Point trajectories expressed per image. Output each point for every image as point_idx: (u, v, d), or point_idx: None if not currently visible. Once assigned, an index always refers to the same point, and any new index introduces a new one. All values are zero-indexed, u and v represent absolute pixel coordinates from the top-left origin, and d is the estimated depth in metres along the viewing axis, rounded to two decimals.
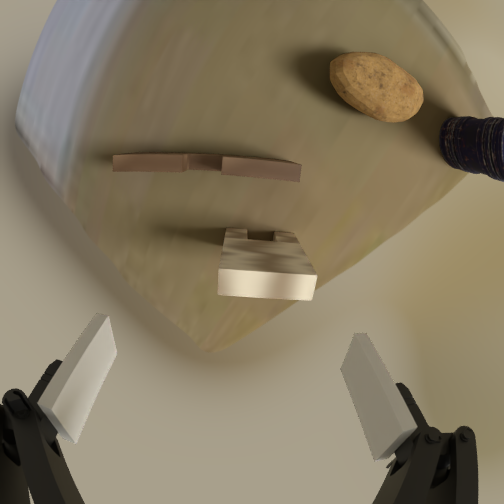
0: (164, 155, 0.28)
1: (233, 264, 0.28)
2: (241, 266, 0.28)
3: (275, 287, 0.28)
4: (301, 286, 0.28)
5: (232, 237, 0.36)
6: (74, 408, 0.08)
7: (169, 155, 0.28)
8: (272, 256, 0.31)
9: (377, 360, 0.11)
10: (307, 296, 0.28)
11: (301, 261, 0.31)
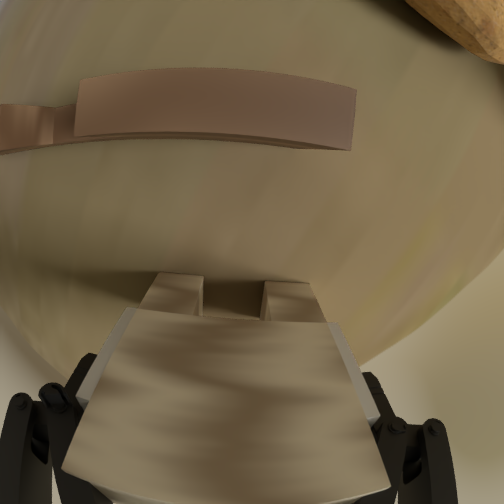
0: None
1: (109, 451, 0.06)
2: (130, 471, 0.05)
3: None
4: None
5: (156, 308, 0.13)
6: None
7: None
8: (248, 404, 0.09)
9: (345, 348, 0.12)
10: None
11: (340, 414, 0.08)
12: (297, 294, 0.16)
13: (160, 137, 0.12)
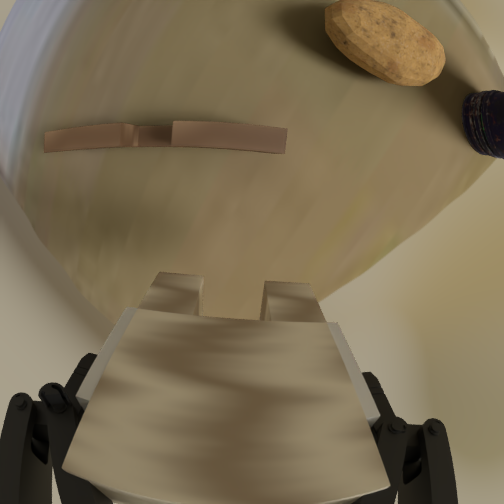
0: (99, 125, 0.18)
1: (109, 451, 0.06)
2: (130, 471, 0.05)
3: None
4: None
5: (157, 308, 0.13)
6: None
7: (105, 125, 0.18)
8: (248, 403, 0.09)
9: (345, 348, 0.12)
10: None
11: (340, 413, 0.08)
12: (297, 294, 0.17)
13: None
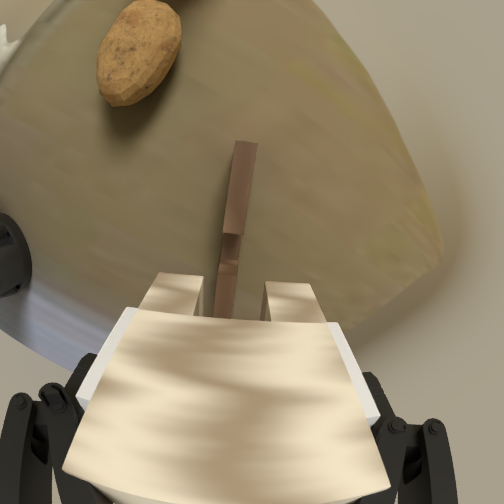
0: (216, 292, 0.28)
1: (109, 452, 0.06)
2: (130, 472, 0.05)
3: None
4: None
5: (157, 309, 0.13)
6: None
7: (217, 287, 0.28)
8: (248, 404, 0.09)
9: (345, 348, 0.12)
10: None
11: (340, 414, 0.08)
12: (297, 294, 0.16)
13: None
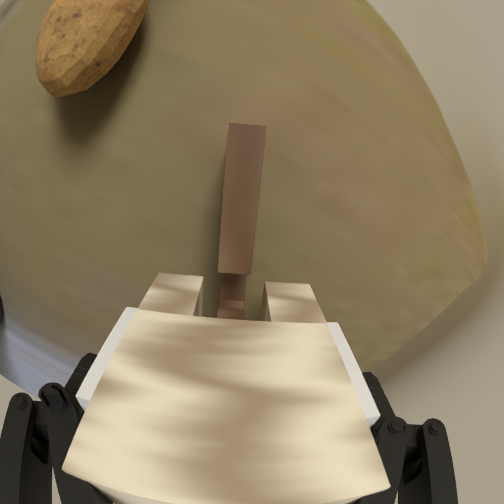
0: None
1: (109, 452, 0.06)
2: (130, 472, 0.05)
3: None
4: None
5: (156, 309, 0.13)
6: None
7: None
8: (248, 404, 0.09)
9: (345, 348, 0.12)
10: None
11: (340, 415, 0.08)
12: (297, 295, 0.16)
13: None
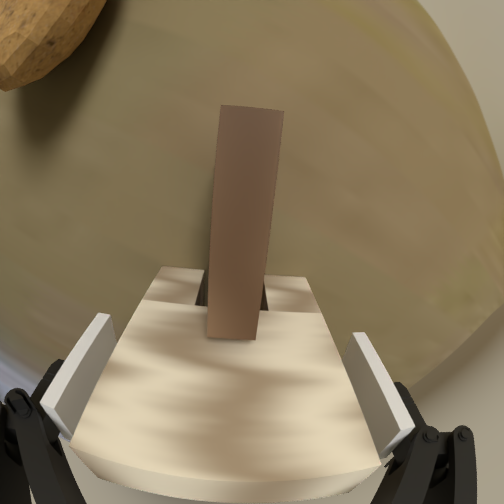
0: None
1: (116, 429, 0.07)
2: (134, 447, 0.06)
3: (249, 495, 0.06)
4: (326, 486, 0.06)
5: (160, 299, 0.14)
6: (76, 407, 0.08)
7: None
8: (246, 384, 0.09)
9: (375, 359, 0.11)
10: (339, 492, 0.07)
11: (332, 396, 0.09)
12: (293, 287, 0.17)
13: None
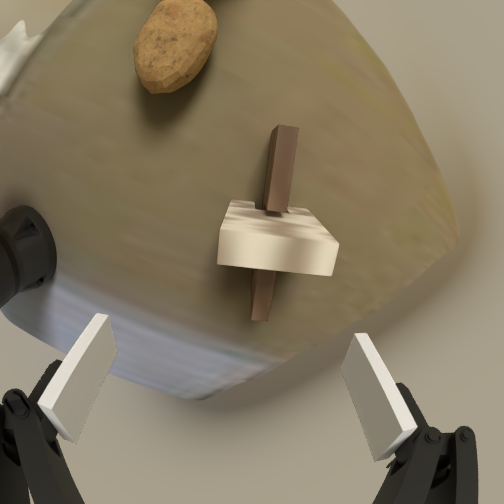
0: (259, 270, 0.30)
1: (237, 227, 0.23)
2: (247, 230, 0.23)
3: (288, 257, 0.23)
4: (319, 256, 0.23)
5: (238, 206, 0.31)
6: (74, 408, 0.08)
7: None
8: (284, 224, 0.26)
9: (377, 360, 0.11)
10: (326, 271, 0.23)
11: (319, 230, 0.26)
12: (301, 210, 0.34)
13: None
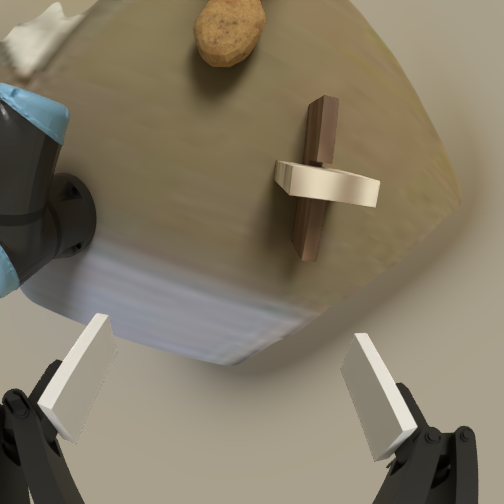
0: (310, 212, 0.34)
1: None
2: (312, 168, 0.27)
3: (344, 190, 0.27)
4: (366, 190, 0.27)
5: (287, 162, 0.35)
6: (74, 408, 0.08)
7: (311, 208, 0.34)
8: None
9: (377, 360, 0.11)
10: (371, 202, 0.28)
11: None
12: (335, 169, 0.38)
13: None
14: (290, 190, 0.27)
